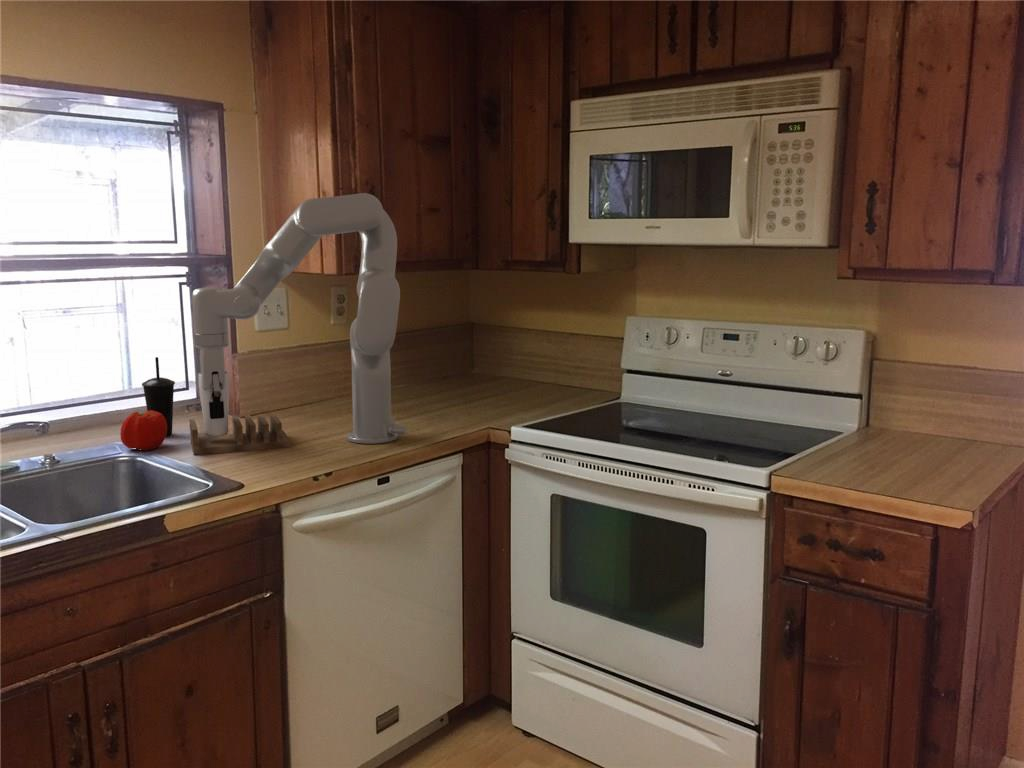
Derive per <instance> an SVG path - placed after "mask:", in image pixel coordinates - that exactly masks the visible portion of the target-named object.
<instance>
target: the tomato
mask: <svg viewBox="0 0 1024 768" xmlns="http://www.w3.org/2000/svg"><path fill="white" fill-rule="evenodd" d="M121 424H122V425H121V428H120V440H121V443H122V445H124V446H125V447H127V448H128V447H129V449H130V448H136V450H139V449H141V450H140V451H142V450H147V451H150V450H153V449H156V448H158V447H159V446H161V445H162V444H163V443H164V440H166V438H167V437H166V435H167V422H166V419H165V417H164V416H163V414H161V413H159V412H156V411H153V410H150V411H145V412H141V413H140V412H138V411H134V412H132V413H130V415H128V416H127V417H126V418H125V420H124V421H123V422H122V423H121Z"/></svg>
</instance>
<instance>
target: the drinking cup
mask: <svg viewBox="0 0 1024 768" xmlns="http://www.w3.org/2000/svg"><path fill="white" fill-rule="evenodd" d="M155 371H156V373H155V374H156V377H153V378H149V379H148V380H146V381H143V382H142V383H141V386H142V387H143V393H144V400H145V404H146V405H145V406H146V410H147V411H150V410H153V411H156V412H159V413H161V414H163V416H164V417H165V419H166V422H167V435H166V438H169V437H171V436H172V435H173V418H174V416H173V415H174V414H173V413H174V393H175V391H174V387H175V384H176V382H175V380H171V379H169V378H166V377H160V365H159V357H158V356H157V357H155ZM147 411H146V412H147Z"/></svg>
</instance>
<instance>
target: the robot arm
mask: <svg viewBox="0 0 1024 768" xmlns="http://www.w3.org/2000/svg"><path fill="white" fill-rule="evenodd" d="M354 232H355V233H356V232H358V233H359V235H360V238H361V252H360V253H361V254H360V255H361V256H360V265H359V270H358V271H359V272H358V273H359V274H358V279H357V284H356V294H357V297H358V305H357V313H356V318H354V320H353V321H352V323H351V326H350V329H349V344H350V345H349V346H350V356H351V357H350V359H351V394H352V395H351V398H352V401H351V402H352V430H351V431H349V432H347V434H346V439H347V440H348V441H350V442H352V443H355V444H363V445H364V444H368V445H369V444H371V445H373V444H383V443H384V444H385V443H389V442H392V441H395V440H397V439H398V437H399V436H398V435H407V427H406V425H402V424H399V425H397V424H396V419H392V395H391V393H392V392H391V391H392V389H391V388H392V385H391V378H392V377H391V376H392V375H391V372H392V371H391V370H392V369H391V348H392V347H393V345H394V342H395V339H396V333H397V327H398V326H397V325H398V320H399V311H400V310H399V308H400V301H401V289H400V284H399V282H398V280H397V279H396V265H397V257H398V256H397V253H398V236H397V231H396V228H395V225H394V223H393V221H392V219H391V217H390V216H389V214H388V213H387V212H386V211H385V209H384V208H383V205H382V203H381V201H380V199H378V198H377V197H376V196H375V195H373V194H370V193H367V192H360V193H353V194H346V195H337V196H328V197H312V198H308V199H305V200H304V201H301V203H300V204H299V205H298V206H297V208H295V210H294V211H293V212H292V213H291V215H290V216H289V217H288V218H287V220H286V221H285V222H284V224H282V226H281V227H280V228H279V229H278V230H277V232H276V233H275V234H274V235H273V236H272V238H271V239H270V240H269V241H268V242H267V244H266V245H265V246H264V248H263V249H262V250H261V252H260V254H259V256H258V258H257V259H256V260H255V262H254V263H253V264H252V265H251V266H250V268H249V269H248V270H247V271H246V273H245V274H244V275H243V276H242V277H241V279H240V280H238V282H237V283H236V285H235V286H233V288H227V289H223V288H221V287H198V288H196V289H194V290H193V291H192V293H191V304H192V305H191V306H192V318H193V331H194V334H193V336H194V347H195V348H196V349H199V370H200V371H199V372H200V373H201V375H202V388H203V390H205V391H206V389H209V391H210V402H209V410H210V419H219V418H224V401H223V398H222V389H224V388H225V370H226V368H225V367H226V366H225V348H228V347H229V346H230V343H229V341H230V340H229V325H228V319H233V320H234V319H235V320H249V319H252V318H253V317H255V316H256V315H257V314H258V313H259V311H260V307H261V306H262V304H263V303H264V302H265V301H266V300H267V298H268V297H269V296H270V295H271V293H272V292H273V291H274V290H275V288H276V287H277V286H278V285H279V284H280V283H281V282H282V281H283V280H284V279H285V278H286V277H288V276H289V275H290V274H292V273H293V272H294V271H295V269H296V268H297V267H298V266H299V265H300V264H301V263H302V261H303V260H304V259H305V258H306V257H307V255H308V254H309V253H310V252H311V250H312V249H313V248H314V246H316V244H318V242H319V241H320V240H321V238H322V237H323V236H329V235H339V234H349V233H354ZM296 270H297V269H296ZM219 381H220V383H219ZM221 384H222V386H221ZM211 385H213V387H214V389H211ZM219 385H220V388H219ZM212 392H213V393H212ZM212 396H213V397H212Z"/></svg>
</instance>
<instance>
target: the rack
mask: <svg viewBox="0 0 1024 768" xmlns="http://www.w3.org/2000/svg"><path fill="white" fill-rule="evenodd" d="M231 418H232V419H231V420H232V422H231V423H232V433H229V434H228V433H227V434H226V435H223V436H216V437H212V436H207V435H202V436H199V429H198V426H197V422H196V419H195V418H190V419H189V430H190V431H189V432H190V433H189V434H190V445H192V446H191V449H192V453H193V456H196V455H195V454H202V455H209V454H208V453H213V454H222V453H221V452H225V453H235V452H234V451H236V452H245V451H246V452H247V451H255V450H256V451H257V450H268V449H278V448H290V447H291V440H290V438H289V437H288V435H287V434H286V432H285V431H284V429H283V428H282V427H283V425H282V422H281V420H280V419H279V417H278V415H276V413H274V412H272V413H269V422H268V421H267V419H266V417H265V416H264V415H263V413H260V414H259V413H258V414H257V425H256V423H255V421H254V419H253V418H252V416H251V415H250V414H245V415H244V426H245V427H243V424H242V423H241V420H240V418H239V417H238V415H232V417H231ZM256 426H257V427H256ZM243 428H245V432H243V431H244V429H243ZM256 428H257V429H256Z"/></svg>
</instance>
